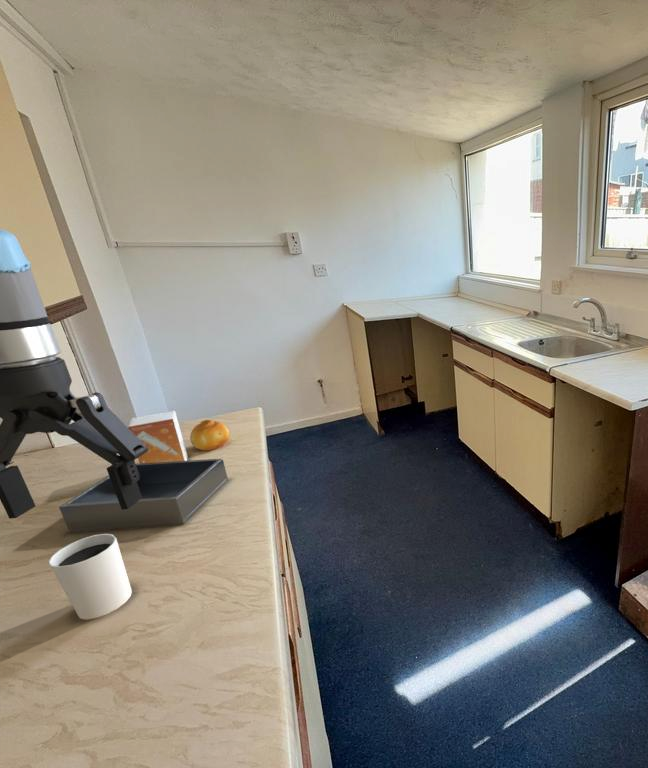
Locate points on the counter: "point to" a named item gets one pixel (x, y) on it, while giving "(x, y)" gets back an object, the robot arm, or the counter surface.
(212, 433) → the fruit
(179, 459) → the small box
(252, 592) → the counter surface
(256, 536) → the counter surface
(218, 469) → the tray
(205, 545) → the counter surface
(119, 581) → the white cup
